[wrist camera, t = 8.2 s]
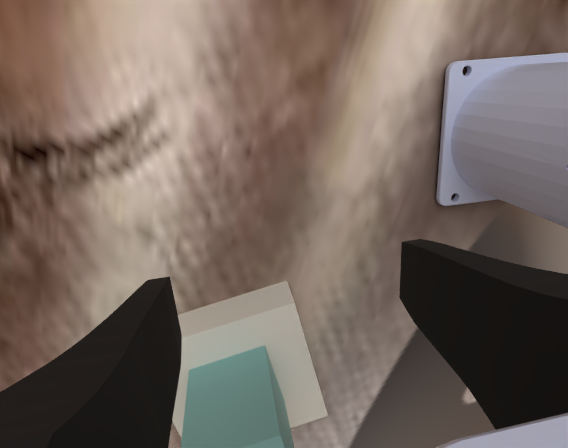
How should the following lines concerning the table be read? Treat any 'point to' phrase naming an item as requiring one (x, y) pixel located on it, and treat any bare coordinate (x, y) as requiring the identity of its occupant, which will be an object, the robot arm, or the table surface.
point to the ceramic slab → (253, 347)
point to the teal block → (236, 405)
